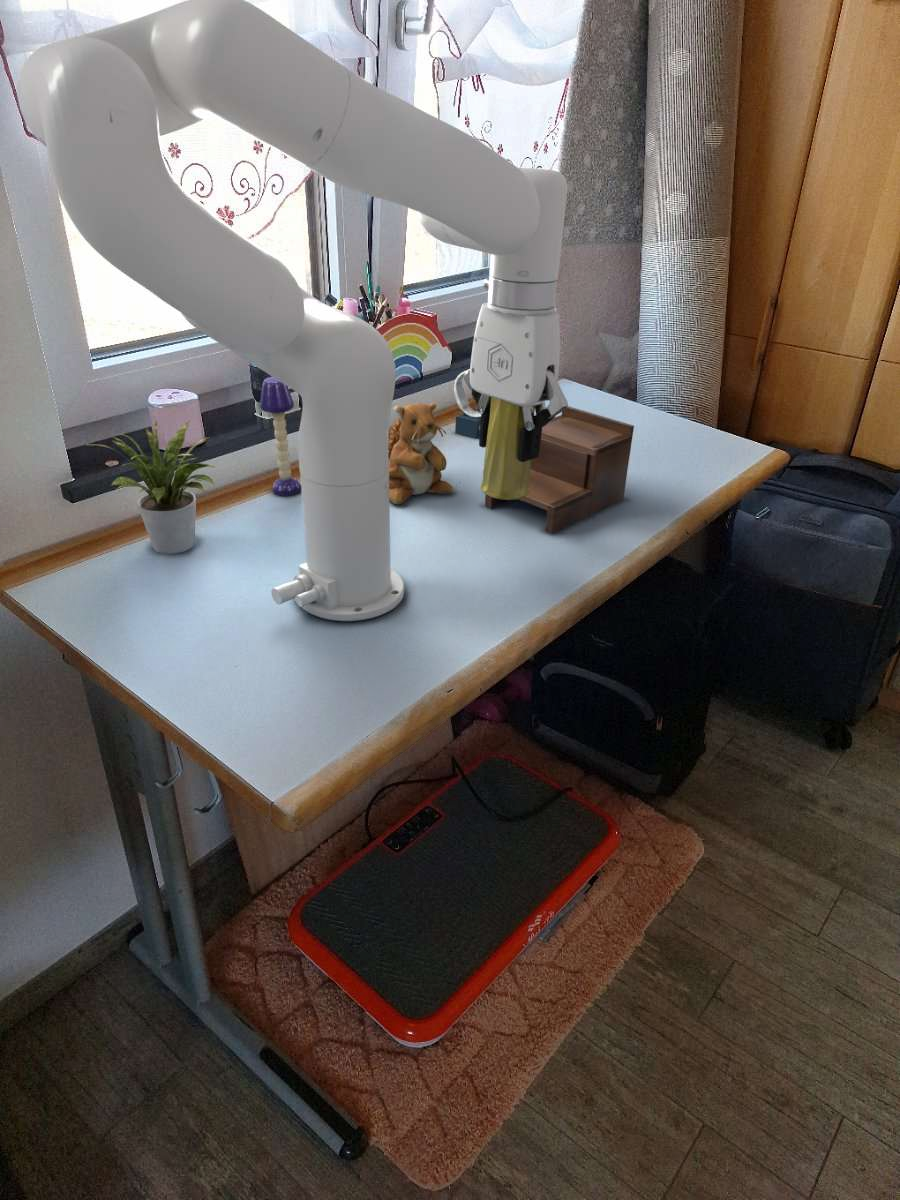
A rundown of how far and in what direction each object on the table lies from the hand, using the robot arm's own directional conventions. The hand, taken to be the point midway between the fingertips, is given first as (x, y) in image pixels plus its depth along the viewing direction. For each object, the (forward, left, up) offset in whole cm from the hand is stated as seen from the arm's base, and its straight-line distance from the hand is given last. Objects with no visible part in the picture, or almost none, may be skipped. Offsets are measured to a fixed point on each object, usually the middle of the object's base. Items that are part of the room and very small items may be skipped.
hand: (508, 450), depth 98 cm
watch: (+31, +34, -14) cm, 48 cm away
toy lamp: (-9, +35, -14) cm, 39 cm away
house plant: (-31, +30, -14) cm, 46 cm away
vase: (0, 0, -5) cm, 5 cm away
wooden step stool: (+17, +5, -14) cm, 22 cm away
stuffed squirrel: (+6, +24, -14) cm, 28 cm away
